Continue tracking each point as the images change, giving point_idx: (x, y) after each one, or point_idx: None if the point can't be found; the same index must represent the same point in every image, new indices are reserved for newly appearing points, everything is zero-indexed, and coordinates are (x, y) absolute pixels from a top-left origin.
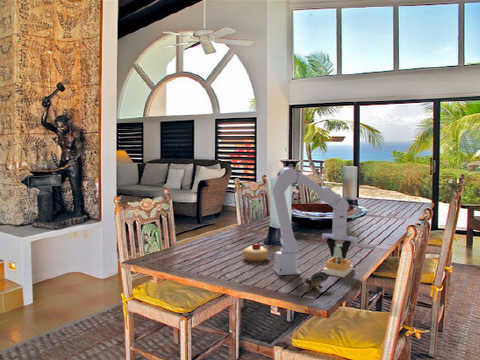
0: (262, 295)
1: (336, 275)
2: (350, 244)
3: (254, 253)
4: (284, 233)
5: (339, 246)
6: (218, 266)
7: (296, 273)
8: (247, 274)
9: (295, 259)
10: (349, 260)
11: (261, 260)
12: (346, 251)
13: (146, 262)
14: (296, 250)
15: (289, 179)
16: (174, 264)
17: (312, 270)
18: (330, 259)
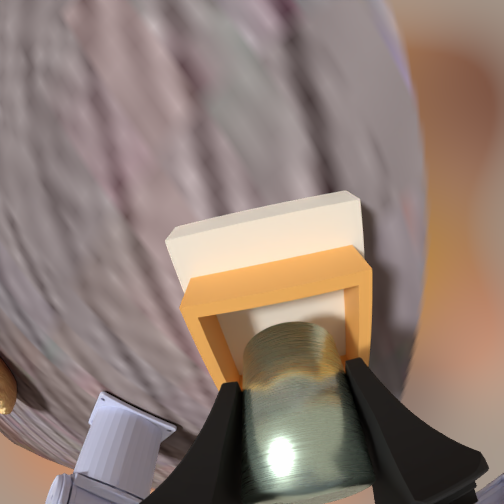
0: None
1: None
2: (460, 455)
3: (8, 413)
4: None
5: (328, 497)
6: (39, 433)
7: (170, 433)
8: None
9: (150, 477)
10: (366, 280)
11: (14, 382)
12: (386, 409)
13: (12, 438)
14: (131, 501)
15: None
16: (22, 438)
17: (164, 374)
18: (212, 367)
